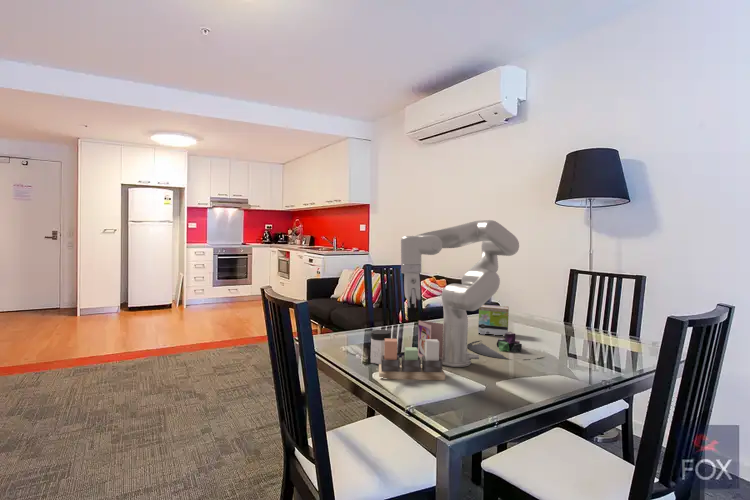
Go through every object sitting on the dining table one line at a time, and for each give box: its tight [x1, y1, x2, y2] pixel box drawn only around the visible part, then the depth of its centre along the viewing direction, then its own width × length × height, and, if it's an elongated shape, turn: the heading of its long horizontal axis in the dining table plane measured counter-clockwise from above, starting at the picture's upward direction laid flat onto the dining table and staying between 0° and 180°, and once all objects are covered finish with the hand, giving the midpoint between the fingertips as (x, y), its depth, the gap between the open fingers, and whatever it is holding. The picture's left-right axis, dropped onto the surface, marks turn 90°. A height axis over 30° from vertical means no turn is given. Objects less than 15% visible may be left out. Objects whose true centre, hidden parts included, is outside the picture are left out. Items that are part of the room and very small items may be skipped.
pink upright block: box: [384, 338, 398, 360], centre depth 155 cm, size 4×4×7 cm
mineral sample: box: [467, 331, 544, 361], centre depth 194 cm, size 35×35×9 cm
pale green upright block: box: [404, 346, 418, 360], centre depth 155 cm, size 4×4×7 cm
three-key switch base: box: [378, 355, 446, 381], centre depth 155 cm, size 23×11×6 cm, turn 90°
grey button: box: [425, 339, 439, 361], centre depth 155 cm, size 4×4×7 cm
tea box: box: [477, 304, 510, 337], centre depth 226 cm, size 15×10×15 cm
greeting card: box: [417, 320, 444, 358], centre depth 177 cm, size 11×7×15 cm, turn 20°
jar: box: [370, 329, 392, 365], centre depth 171 cm, size 9×8×12 cm
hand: (411, 317), depth 160 cm, fingers closed
